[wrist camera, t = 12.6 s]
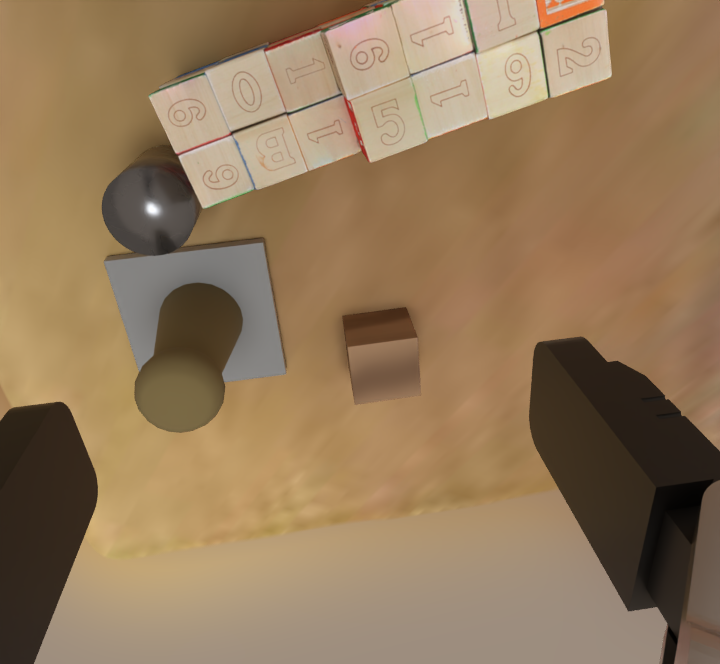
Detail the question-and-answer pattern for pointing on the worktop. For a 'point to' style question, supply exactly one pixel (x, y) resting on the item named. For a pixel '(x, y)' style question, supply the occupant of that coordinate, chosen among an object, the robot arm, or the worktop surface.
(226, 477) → the worktop surface
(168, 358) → the brown rounded figure
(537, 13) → the stack of blocks
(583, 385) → the robot arm
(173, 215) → the metal tin
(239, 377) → the slate tile
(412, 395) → the walnut block
